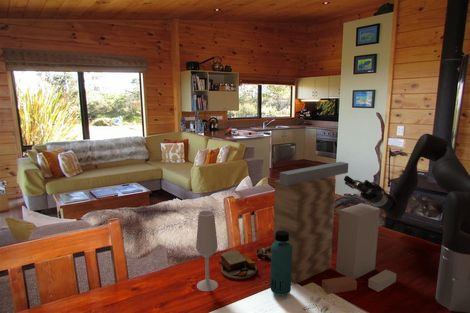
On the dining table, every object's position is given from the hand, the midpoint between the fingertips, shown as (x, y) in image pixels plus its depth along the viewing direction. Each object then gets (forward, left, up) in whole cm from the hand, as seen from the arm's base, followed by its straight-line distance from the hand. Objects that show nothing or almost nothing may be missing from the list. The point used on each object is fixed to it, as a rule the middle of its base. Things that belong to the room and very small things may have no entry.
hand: (355, 180), depth 128 cm
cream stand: (-16, +1, -28) cm, 32 cm away
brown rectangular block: (-29, +8, -28) cm, 41 cm away
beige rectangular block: (-24, -6, -28) cm, 38 cm away
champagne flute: (-34, +49, -28) cm, 66 cm away
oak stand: (-19, +19, -28) cm, 39 cm away
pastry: (-11, +30, -29) cm, 43 cm away
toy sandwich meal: (-23, +41, -28) cm, 55 cm away
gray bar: (-16, +16, +4) cm, 23 cm away
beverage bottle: (-35, +26, -28) cm, 52 cm away
